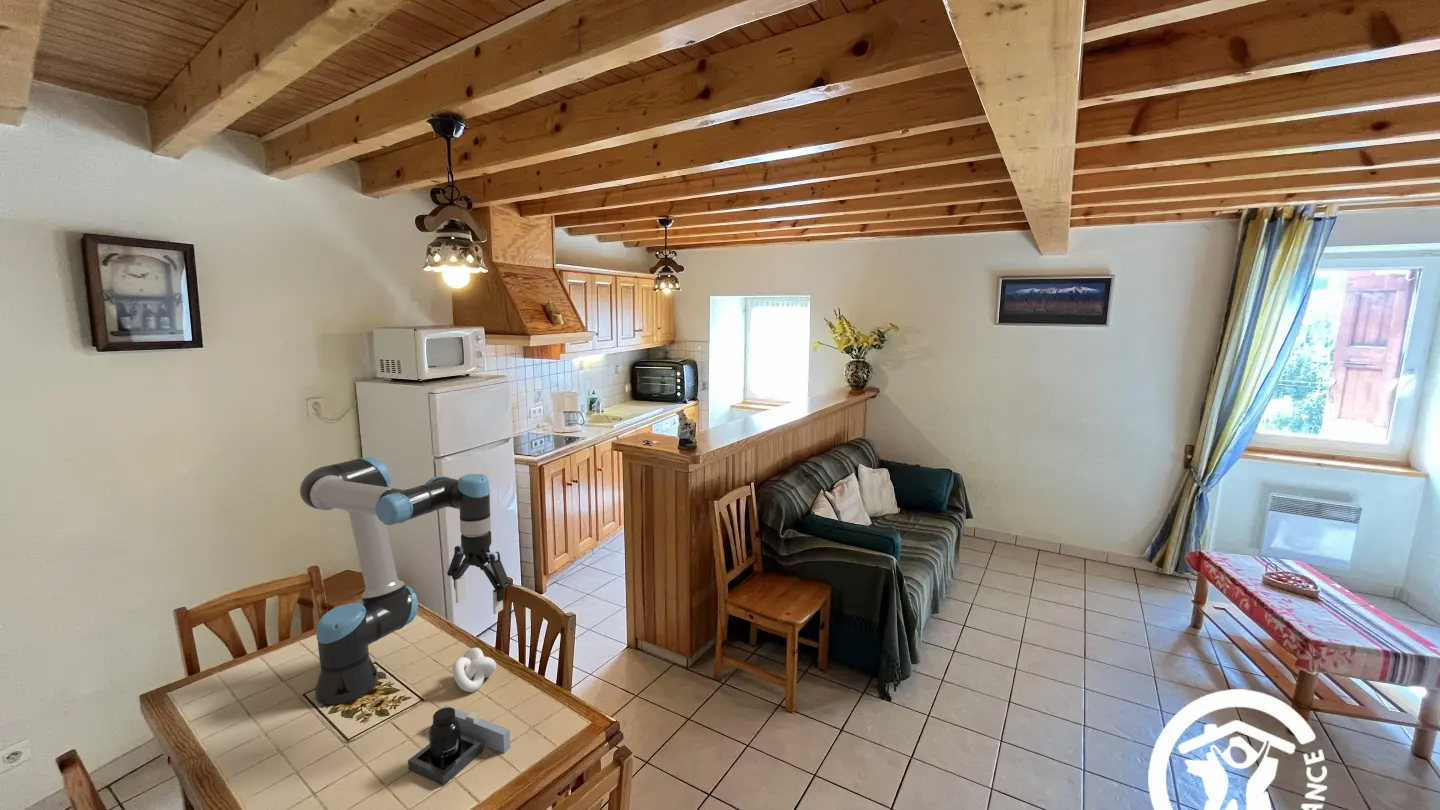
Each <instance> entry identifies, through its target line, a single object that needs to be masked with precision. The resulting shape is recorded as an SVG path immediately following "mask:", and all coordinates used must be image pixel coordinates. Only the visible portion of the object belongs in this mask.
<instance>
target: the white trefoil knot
mask: <svg viewBox="0 0 1440 810" xmlns="http://www.w3.org/2000/svg"><path fill="white" fill-rule="evenodd" d="M496 669H497V663H496V660H494V659H493V658H492V657H489V656H484V653H483V651H482V649H481V648H479V647H472V648H469V649H468V650H467V651H466V652H465V653H464V654H463V656H461V657H459V658H456V660H455V661H454V663H453V665H452V674H453V678H454V681H455V682H456V685H457V686H458V687H459V688H460V689H461V690H462V691H464V692H466V693H473V692H477V691H478V690H479V689H480V688H481V687H482V685H483V682H484V680H485V678H489V677H490V676H492V675H493V674H494V673H495V672H496Z"/></svg>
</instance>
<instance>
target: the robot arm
mask: <svg viewBox="0 0 1440 810" xmlns="http://www.w3.org/2000/svg"><path fill="white" fill-rule="evenodd" d="M391 477H392V476H391V474H390V471H389V469H388V468H387V466H386V465H385V463H384V462H382V461H381V460H380V459H378V458H375V457H372V456H371V457H361V458H357V459H352V460H348V461H343V462H338V463H334V464H331V465H325V466H324V465H323V466H320V467H318V468H315V469H314V470H313V471H310V472H309V473H308V474H307V475H306V476H305V477H304V478H303V480H302V482H301V484H300V487H299V495H300V498H301V500H302V501H303V503H304V504H306V505H307V506H308V507H311V508H312V509H313V508H314V509H315V510H316V509H317V510H323V511H331V510H334V509H338V510H344V511H345V512H347V513H348V515H349V519H350V524H351V528H352V532H353V536H354V541H355V546H356V551H357V556H358V559H359V564H360V568H361V574H362V577H363V581H364V586H365V590H364V592H363V593H362V594H361V601H362V603H361V602H360V603H359V602H347V604H342V605H341V604H340V605H337V606H336V607H334V608H331V610H328V611H327V612H325V613H324V614H323V615H322V616H321V617H320V618H319V619H318V622H317V624H316V635H315V636H316V641H317V646H318V647H317V649H318V658H319V664H320V665H319V666H320V671H319V675H318V678H317V681H316V686H315V689H314V692H315V700H316V701H317V702H318V703H319V704H321V705H328V706H330V705H331V706H332V705H340V704H346V703H349V702H352V701H355V700H357V699H359V698H361V697H363V696H365V695H366V694H368V693H369V692H371V690H373V689H374V688H375V686H376V685H377V683H378V682H379V673H378V669H377V667H376V666H375V664H374V662H373V660H372V659H371V657H370V652H369V645H371V644H373V643H375V642H376V641H379V640H380V639H383V638H385V637H386V636H388V635H391V634H393V633H394V632H396V631H400V630H401V629H403V628H404V627H405V626H407V625H409V624H410V623H412V622H414V620H415V618H416V616H417V614H418V610H419V601H418V596H417V594H416V592H414V589H413V588H412V587H410V586H408V585H406V583H405V581H403V580H400V579H399V577H398V573H397V567H396V564H395V561H394V560H395V559H394V555H393V551H392V547H391V542H390V541H391V540H390V536H389V532H388V529H387V528H388V527H387V526H393V525H396V524H402V523H405V522H407V521H410V520H413V519H415V518H418V517H421V516H423V515H426V514H429V513H430V514H431V513H433V512H435V511H438V510H441V509H445V508H452V509H459V528H460V530H459V531H460V534H461V535H460V544H459V545H457V546H456V545H455V546H454V552H453V553H454V554H453V556H452V558H451V562H450V564H449V568H448V569H447V570H448V571H447V573H446V575H447V576H448V577H451V578H452V580H453V588H454V591H455V603H456V604H459V603H462V602H463V601H465V600H466V599H467V598H466V597H467V596H466V595H467V593H466V577H465V576H464V575H465V573H466V571H467V570H468V568H469V567H470V566H472V567H473V566H474V567H476V568H479V569H480V570H481V571H483V572H484V574H485V575H486V578H487V579H488V580H489V582H490V584H491V585H492V588H494V589H493V590H492V608H493V609H492V610H493V614H494V615H496V614H498V613H499V612H501V611H503V610H504V601H503V600H504V599H505V589H507V588H509V587H510V586H511V582H510V580H509V576H508V575H507V573H506V570H505V568H504V565H503V563H502V561H501V554H500V552H499V551H495V552H491V550H490V546H491V545H492V531H491V529H492V526H491V525H492V523H491V521H492V520H491V498H490V496H491V495H490V493H491V489H490V483H489V477H488V476H487V475H485V474H481V473H477V474H476V473H471V474H465V475H462V476H460V477H459V478H458V479H456V478H451V477H447V476H434V477H431V478H430V479H429V480H427V481H426V482H425V484H422V485H421V484H420V485H418V486H415V487H411V488H408V489H400V488H392V487H391V483H392V478H391Z"/></svg>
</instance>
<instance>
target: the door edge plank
mask: <svg viewBox="0 0 1440 810" xmlns="http://www.w3.org/2000/svg"><path fill="white" fill-rule="evenodd" d="M446 707H451V708H453V709H454V710H455V715H456V718H457V719H458V720H459V721H460V728H461V734H463V735H465V736H468V737H470V738H473V739H475V740H478V741H480V742H482V745H483V746H486V747H487V748H491V749H493V750H496V751H498V752H501V753H503V754H505V753H507V751H508V750H509V749H511V735H510V734H511V733H510V732H511V731H510V728H506V727H504V726H501V725H498V724H497V723H496V724H495V723H494V722H491V721H487V720H485V719H483V718H481V714H480V713H479V712H476V711H475V710H474V711H471V712H470V713H467V712H464V711H462V710H460V709H456V708H454V707H452V706H449V705H446V704H445V705H444V706H442V707H440V709H442V708H446Z"/></svg>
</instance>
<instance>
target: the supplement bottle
mask: <svg viewBox="0 0 1440 810" xmlns="http://www.w3.org/2000/svg"><path fill="white" fill-rule="evenodd" d="M451 707H452V706H449V707H446V708H442V707H441V708H442V709H441V708H440V709H438V710H436V711H435V712H434V713H433V715H432V724H431V725H430V727H429V729H428V740H429V743H428V744H430V761H431V764H432V766H434V767H437V768H446V767H448V766H450V765H451V764H452V763H453V762H454V761H455V760H457V759H458V758H459V757H460V756H461V728H460V721H459V720H458V719H457V718H456V715H455V710H454V709H455V708H454V707H452V708H451ZM453 708H454V709H453Z"/></svg>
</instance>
